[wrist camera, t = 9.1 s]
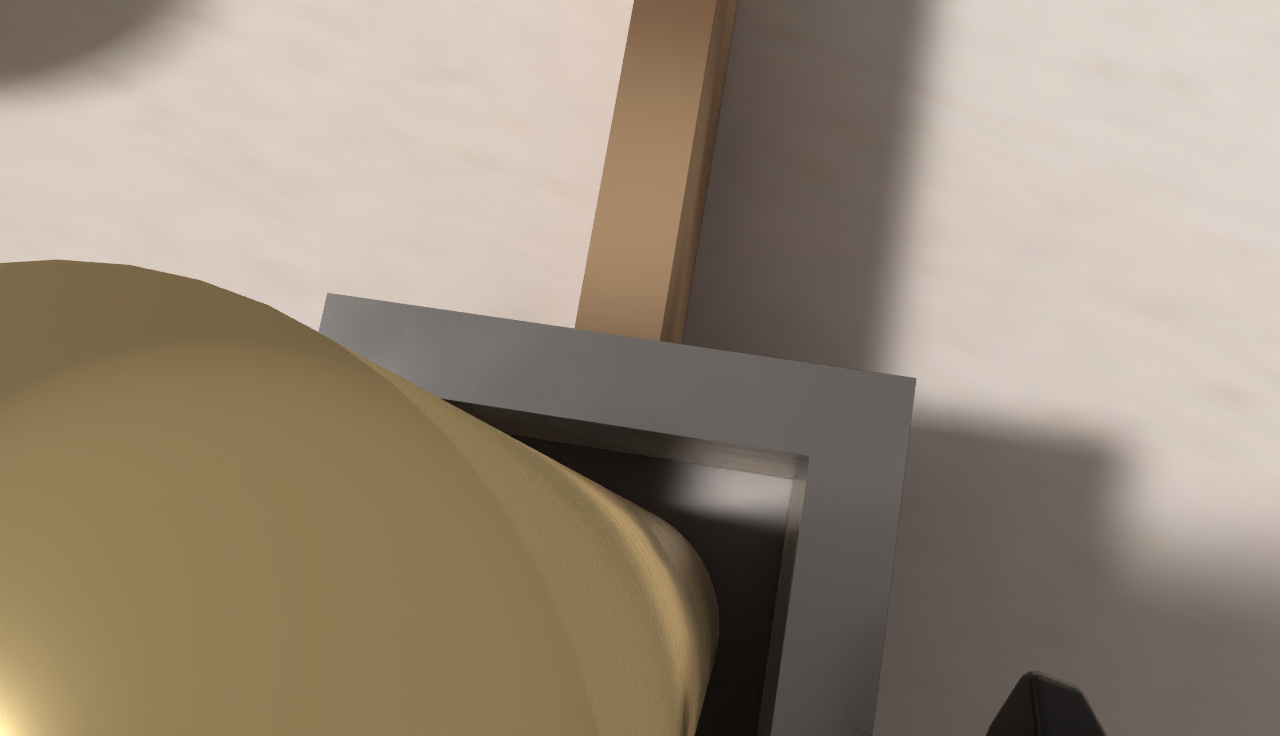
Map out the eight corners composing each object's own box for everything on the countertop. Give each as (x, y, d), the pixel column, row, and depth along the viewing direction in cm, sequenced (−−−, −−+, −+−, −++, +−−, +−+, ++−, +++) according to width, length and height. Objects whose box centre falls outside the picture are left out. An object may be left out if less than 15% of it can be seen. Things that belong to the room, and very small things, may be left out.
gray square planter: (808, 929, 16) (832, 1054, 12) (318, 824, 17) (189, 908, 13) (874, 419, 17) (916, 378, 13) (417, 350, 18) (327, 293, 14)
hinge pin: (732, 738, 16) (691, 1694, 3) (487, 759, 17) (-728, 1710, 3) (705, 489, 17) (560, 190, 3) (471, 513, 17) (-541, 331, 4)
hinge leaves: (458, 1711, 14) (369, 2077, 11) (376, 1685, 14) (263, 2039, 11) (767, -180, 19) (773, -340, 16) (704, -185, 19) (696, -345, 16)
